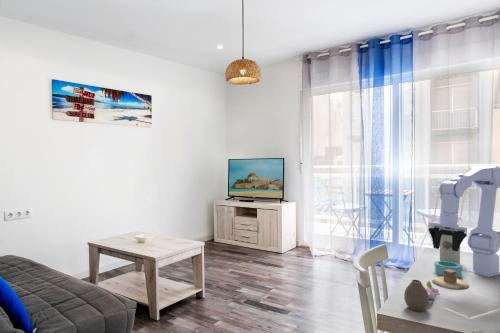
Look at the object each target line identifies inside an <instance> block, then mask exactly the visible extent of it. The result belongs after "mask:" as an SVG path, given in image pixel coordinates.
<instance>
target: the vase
mask: <svg viewBox="0 0 500 333" xmlns="http://www.w3.org/2000/svg"><path fill="white" fill-rule="evenodd" d="M425 288H426V287H425V286H424V285H423V284H422V282H421V280H420V279H412V280H411V282H410V283H409V284H408V285H407V287H405V290H404V294H403V296H404V298H403V299H404V302H405V305H406V307H408V308H409V309H410V310H411V311H414V312H423V311H424V310H426V309H427V307H428V306H429V302H430V299H429V296H428V293H427V291H426V289H425Z"/></svg>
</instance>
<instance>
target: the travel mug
mask: <svg viewBox="0 0 500 333" xmlns="http://www.w3.org/2000/svg"><path fill="white" fill-rule="evenodd" d="M457 226H458V227H460V223H458V222H457ZM441 228H442V227H441ZM445 228H446V229H451V228H449V227H445ZM439 230H441V231H443V234H442V236H441V240H440V247H439V261H451V262H454V263H458V264H460V265H461V246H460V247H459V249H458V252H457V251H453V250H452V234H451V232H455V231H450V230H443V229H439ZM453 230H454V229H453Z"/></svg>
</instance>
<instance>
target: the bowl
mask: <svg viewBox="0 0 500 333" xmlns="http://www.w3.org/2000/svg"><path fill="white" fill-rule="evenodd" d="M462 268H463V267H462V265H461V263H460V264H458V263H454V262H451V261H440V260H437V261H434V273H435V275H438V276H440V277H444V270H447V269H450V270H454V271H457V278H461V277H463V276H462V275H463V272H462Z"/></svg>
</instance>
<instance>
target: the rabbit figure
mask: <svg viewBox="0 0 500 333" xmlns="http://www.w3.org/2000/svg"><path fill="white" fill-rule="evenodd" d="M432 286H433V285H432V283H431V281H430V280H429V281H427V282H426V287H424V288H425V289H426V291H427V293H428V296H429V300H433V299H435V298H436V295H438V296H440V295H441V293H439V288H435V287H432Z"/></svg>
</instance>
